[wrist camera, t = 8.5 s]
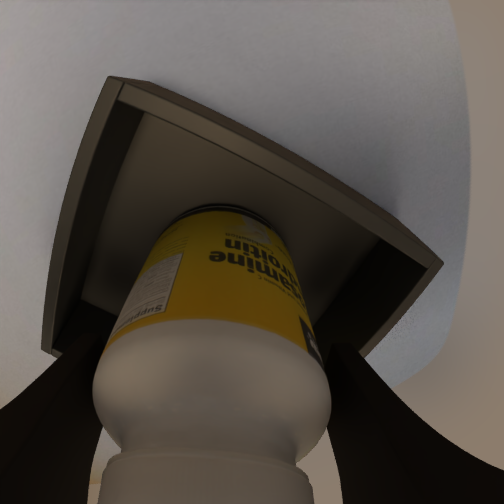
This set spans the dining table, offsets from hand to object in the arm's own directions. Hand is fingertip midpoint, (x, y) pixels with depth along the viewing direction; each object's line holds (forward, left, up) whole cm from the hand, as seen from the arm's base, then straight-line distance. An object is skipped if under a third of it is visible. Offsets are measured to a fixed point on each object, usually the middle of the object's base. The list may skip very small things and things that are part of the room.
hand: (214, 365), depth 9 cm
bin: (0, 0, -7) cm, 7 cm away
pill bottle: (0, 0, -6) cm, 6 cm away
